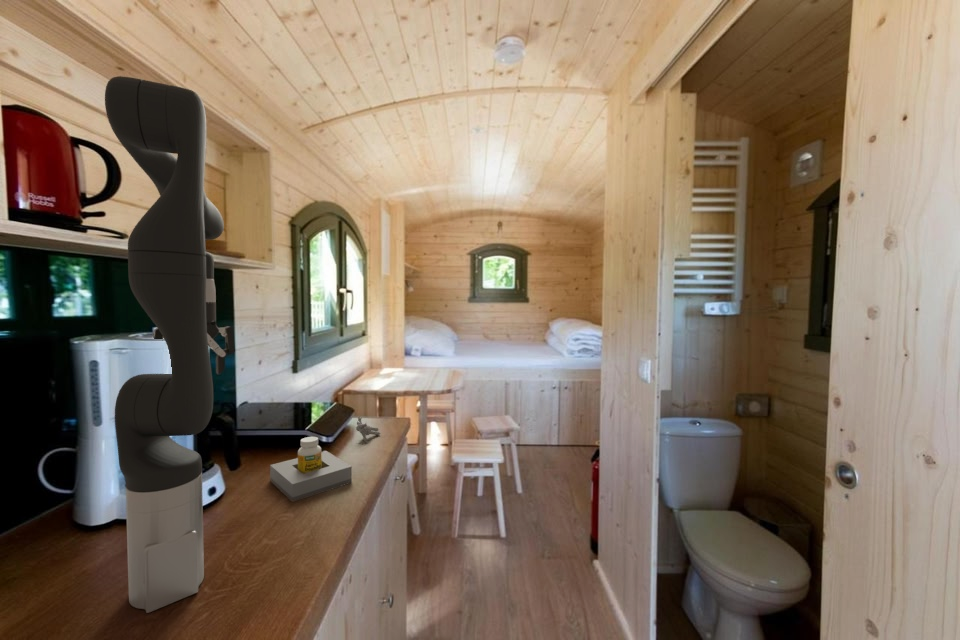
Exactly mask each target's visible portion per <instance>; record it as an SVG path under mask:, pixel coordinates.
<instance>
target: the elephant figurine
mask: <svg viewBox="0 0 960 640" xmlns="http://www.w3.org/2000/svg"><path fill="white" fill-rule="evenodd" d="M357 419H358V421H357V422H356V425H357V426H356V427H355V430H356V432H359V433H360V435H361V436H362V437H363V441H364V443H365V444H367V443H368V438H367V436H369V435H375V436H378V435H379V436H380V435H381V431H379V430H380V428H379V427H374V426H373V427H372V426H369V425H368V424H367V422H365V423H363V422H362V419H363V418H362V417H361V416H357Z"/></svg>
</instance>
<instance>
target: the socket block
mask: <svg viewBox="0 0 960 640" xmlns="http://www.w3.org/2000/svg"><path fill="white" fill-rule="evenodd" d="M321 456H322V468H321V469H318V470H314V471H311V472H307V473H304V474H302V473H301V472H300V471H299V470H298V457H296V458H293V459H287V460H285V461H280V462H277V463H273V464H272V463H271V464H270V465H269V469H270V470H269V476H270V477H269V478H270V480H269V481H270V482H271V484H273V485H274V487H276V488H277V489H278V490H279V491H280V492H281V493H282V494H283V495H285V496H286V497H287V498H288V499H289V500H290V501H291V502H292V503H293V502H297V501H299V499H300V500H303V499H305V497H306V498H308V496H309V497H311V496H315V495H318V494H321V493H324V492H326V491H329V490H333V489H337V488H340V487H342V486H344V484H345V485H348V484H351V483H352V482H353V481H352V479H353V478H352V470H353V469H352V468H353V467H352V465H350V464H349V463H347V462H345V461H344V460H342V459H341V458H338V456H336V455H334V454H332V453H331V452H329V451H327V450H323V451H321ZM347 483H348V484H347ZM341 485H342V486H341ZM332 488H333V489H332ZM314 494H315V495H314ZM302 498H303V499H302ZM296 500H297V501H296Z"/></svg>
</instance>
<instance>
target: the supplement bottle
mask: <svg viewBox="0 0 960 640" xmlns="http://www.w3.org/2000/svg"><path fill="white" fill-rule="evenodd" d="M321 452H322V447H321V446H320V445H319V437H317V436H307V437H306V436H305V437H304V438H301V439H300V447H299V449H298V450H297V458H298V470H299V471H300V472H301V473H302V474H304V473H307V472H311V471H314V470H318V469H321V468H322V456H321Z"/></svg>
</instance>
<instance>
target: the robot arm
mask: <svg viewBox="0 0 960 640" xmlns="http://www.w3.org/2000/svg"><path fill="white" fill-rule="evenodd" d="M104 92H105V93H104V107H105V112H106V116H107V120H108V123H109V125H110V128H111V130H112V132H113V134H114V135H115V136H116V138H117V140H118V141H119V142H120V144H121V146H123V148H124V149H125V150H126V152H128V154H129V155H130V157H132V158H133V160H134V161H135V162H136V164H137V165H138V167H140V168H141V170H142V171H143V172H144V173H145V174H146V175H147V176H148V178H149V179H150V180H151V182H152V183H153V184H154V186H155V188H156V190H157V191H158V194H159V196H158V198H157V199H156V200H155V202H154V203H153V204H152V205H151V206H150V208H149V209H147V211H146V212H145V213H144V215H142V217H141V218H140V219H139V220H138V222H137V223H136V224H135V225H134V228H133V229H132V231H131V232H130V235H129V237H128V241H127V262H128V263H127V265H128V266H127V268H128V269H127V270H128V282H129V283H128V285H129V286H130V289H131V292H132V294H133V296H134V297H135V299H136V301H137V302H138V304H139V305H140V306H141V308H142V309H143V311H144V312H145V313H146V314H147V317H149V318H150V320H151V321H152V323H153V324H154V325H155V329H153V337H152V339H153V338H154V339H163V338H164V341H165V344H166V346H167V349H168V350H169V354H170V359H171V367H172V374H164V373H143V374H137V375H134V376H132V377H130V378H129V379H127V380H126V381H125V382H124V383H123V385H122V386H121V387H120V389H119V391H118V393H117V396H116V399H115V400H116V401H115V406H114V426H115V427H114V428H115V435H116V446H117V454H118V455H117V456H118V457H117V458H118V466H119V470H120V472H121V474H122V475H123V477H124V480H125V498H126V499H125V501H126V505H125V506H126V508H125V509H126V511H125V512H126V516H125V517H126V540H127V541H126V546H127V549H126V550H127V576H128V578H127V580H128V583H127V584H128V603H129V604H130V605H131V607H133V608H134V609H135V608H136V609H141V610H145V612H146V614H148V613H151V612H154V611H156V610H158V609H161V608H163V607H166V606H169V605H171V604H173V603H175V602H177V601H180V600H183V599H185V598H188V597H189V596H193V595H195V594H197V593H198V592H199V586H201V584H202V582H203V580H204V577H205V570H204V569H205V565H204V564H205V560H204V559H205V558H204V557H205V556H204V555H205V554H204V553H205V552H204V515H203V514H204V513H203V510H204V509H203V507H204V506H203V462H202V461H203V460H202V459H203V458H202V456H201V454H200V453H198V452H197V451H196V450H193V449H191V448H188V447H185V446H183V445H182V444H179V443H177V442H176V441H175V440H173V438H171V437H178V436H179V437H181V436H185V437H186V436H194V435H198V434H200V433H201V432H203V431H204V430H205V429H206V428H207V426H208V425H209V423H210V421H211V418H212V415H213V409H214V398H215V397H214V383H213V375H212V373H213V372H212V365H211V358H210V357H211V356H210V349H211V350H212V351H213V352H214V353H215V354H216V356H215V374H217V375H222V374H223V372H224V371H225V370H226V357H227V356H228V355H230V354H232V355H233V354H234V353H235V352H236V347H235V337H234V336H235V335H234V327H232V326H228V325H226V326H224V327H218V326H217V302H216V300H217V295H216V292H217V291H216V284H215V268H214V267H215V261H214V260H215V258H214V256H213V254H212V253H210V252H208V251H207V249H206V247H207V246H206V241H213V240H216V239H218V238H219V237H220V236H221V235H222V234H223V232H224V227H225V225H224V219H223V216H222V214H221V212H220V210H219V209H218V208H217V207H216V205H214V203H212V201H211V200H210V199H209V198H208V197H207V194H206V190H205V174H206V173H205V172H206V171H205V170H206V152H207V151H206V150H207V117H206V109H205V106H204V102H203V100H202V98H201V96H200V95H199V94H198V93H197V92H196V91H193V90H192V89H188V88H186V87H180V86H176V85H171V84H166V83H165V84H164V83H160V82H156V81H150V80H146V79H141V78H135V77H131V76H130V77H129V76H123V75H122V76H118V75H117V76H113V77H111V78H110V79H109V80H108V81H107V83H106V87H105V91H104ZM174 154H176V155H177V156H175V155H174ZM219 333H220V335H221V336H222V337H224V341H225V348H224V349H222V348H221V347H220V345H219V344H218V343H217V341H215V340H214V339H215V338H216V337H217V336H218V335H219ZM209 348H210V349H209ZM168 350H167V351H168Z"/></svg>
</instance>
